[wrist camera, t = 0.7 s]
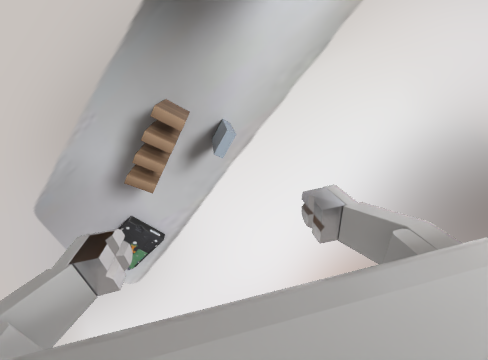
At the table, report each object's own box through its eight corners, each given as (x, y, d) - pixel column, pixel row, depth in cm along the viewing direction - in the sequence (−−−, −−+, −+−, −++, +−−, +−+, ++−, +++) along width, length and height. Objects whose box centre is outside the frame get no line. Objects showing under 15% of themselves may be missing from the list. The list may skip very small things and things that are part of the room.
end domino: (212, 139, 44) (213, 154, 35) (222, 118, 42) (227, 129, 34) (219, 142, 45) (222, 158, 36) (229, 123, 43) (236, 134, 34)
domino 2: (157, 119, 40) (144, 130, 32) (181, 130, 42) (174, 144, 33) (154, 126, 41) (140, 140, 32) (177, 138, 43) (170, 153, 34)
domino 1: (165, 99, 39) (154, 105, 30) (189, 112, 41) (185, 121, 32) (162, 107, 39) (150, 116, 31) (186, 119, 41) (181, 131, 33)
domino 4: (142, 155, 43) (127, 175, 34) (165, 164, 45) (156, 185, 36) (140, 161, 44) (124, 183, 35) (162, 171, 45) (152, 193, 37)
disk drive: (131, 213, 50) (98, 249, 53) (127, 220, 47) (93, 257, 50) (166, 232, 54) (134, 264, 57) (164, 239, 52) (131, 272, 55)
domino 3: (150, 137, 42) (135, 153, 33) (173, 148, 44) (165, 166, 35) (147, 145, 42) (132, 162, 34) (170, 155, 44) (161, 174, 35)
